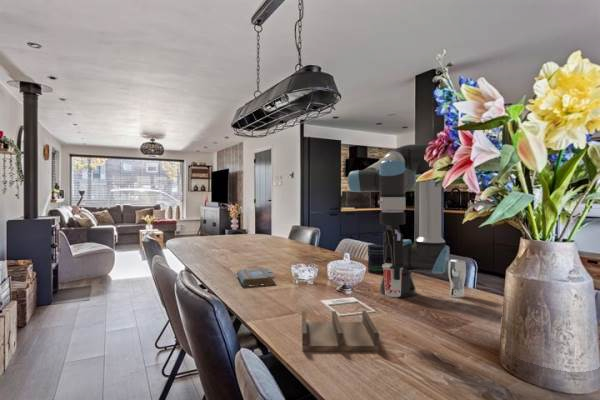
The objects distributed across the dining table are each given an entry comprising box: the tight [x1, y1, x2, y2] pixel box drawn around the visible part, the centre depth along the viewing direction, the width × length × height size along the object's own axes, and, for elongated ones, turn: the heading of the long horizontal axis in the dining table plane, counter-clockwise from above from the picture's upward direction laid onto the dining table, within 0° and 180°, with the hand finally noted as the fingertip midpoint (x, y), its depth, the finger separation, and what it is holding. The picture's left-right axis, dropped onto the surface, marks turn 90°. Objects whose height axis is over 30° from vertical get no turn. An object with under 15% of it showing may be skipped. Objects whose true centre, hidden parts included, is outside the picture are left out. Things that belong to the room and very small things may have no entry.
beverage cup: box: [382, 263, 403, 298], centre depth 104 cm, size 6×6×14 cm
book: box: [236, 267, 276, 287], centre depth 173 cm, size 21×16×5 cm
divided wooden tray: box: [301, 310, 380, 352], centre depth 103 cm, size 21×18×5 cm
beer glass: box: [447, 258, 467, 299], centre depth 146 cm, size 7×7×15 cm
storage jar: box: [367, 243, 384, 275], centre depth 192 cm, size 10×10×15 cm
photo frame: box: [320, 296, 376, 318], centre depth 132 cm, size 15×1×18 cm
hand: (392, 286), depth 104 cm, fingers closed on beverage cup, 6 cm apart
